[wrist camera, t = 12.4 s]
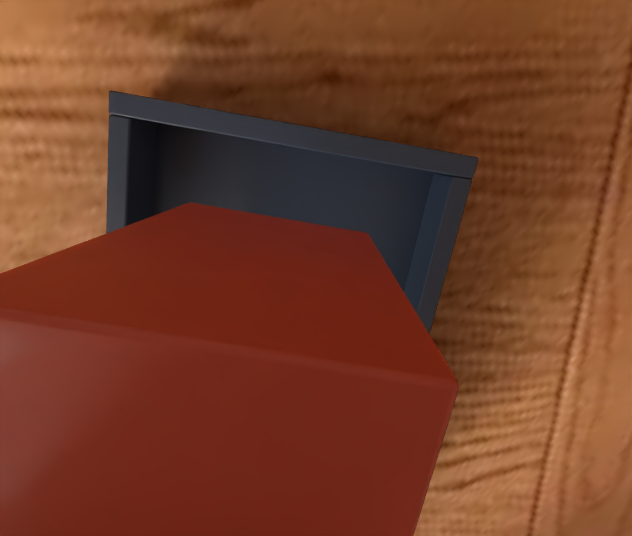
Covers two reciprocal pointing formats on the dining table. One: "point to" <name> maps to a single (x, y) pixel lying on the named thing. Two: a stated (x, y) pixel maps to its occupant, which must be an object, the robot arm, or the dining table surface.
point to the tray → (291, 181)
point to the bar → (216, 384)
